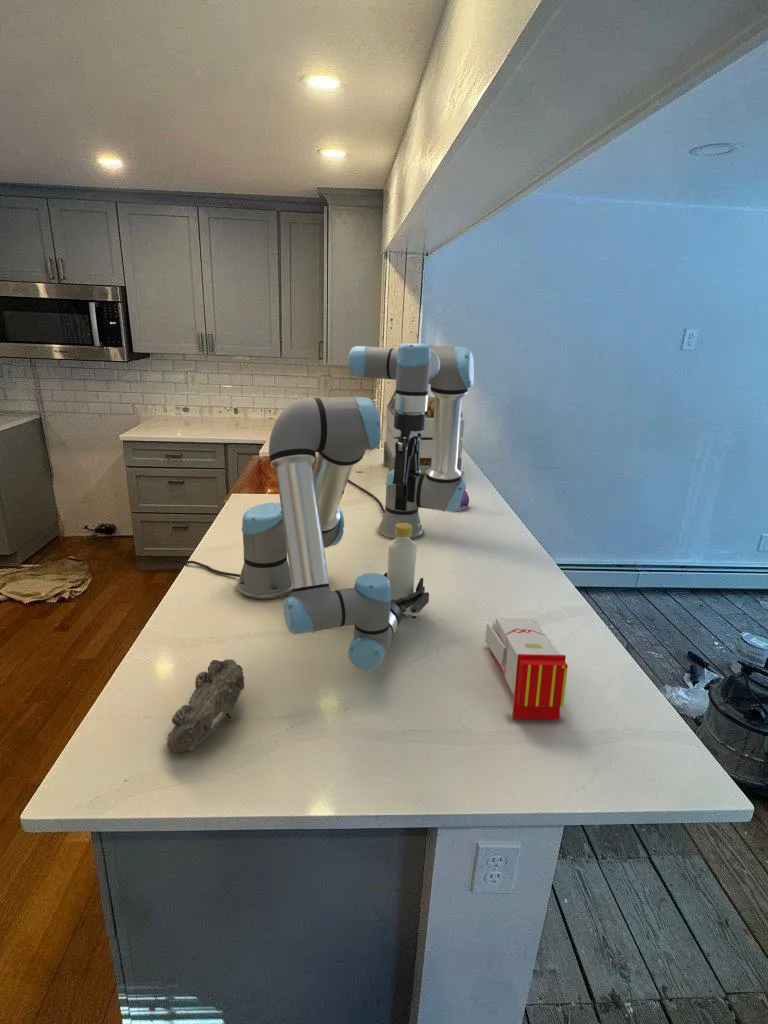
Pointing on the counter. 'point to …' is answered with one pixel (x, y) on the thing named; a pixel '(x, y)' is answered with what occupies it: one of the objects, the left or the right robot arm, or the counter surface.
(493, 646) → the toy
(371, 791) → the counter surface
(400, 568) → the bottle
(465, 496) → the figurine
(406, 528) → the cap
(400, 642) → the counter surface
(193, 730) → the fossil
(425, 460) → the grey slatted box
